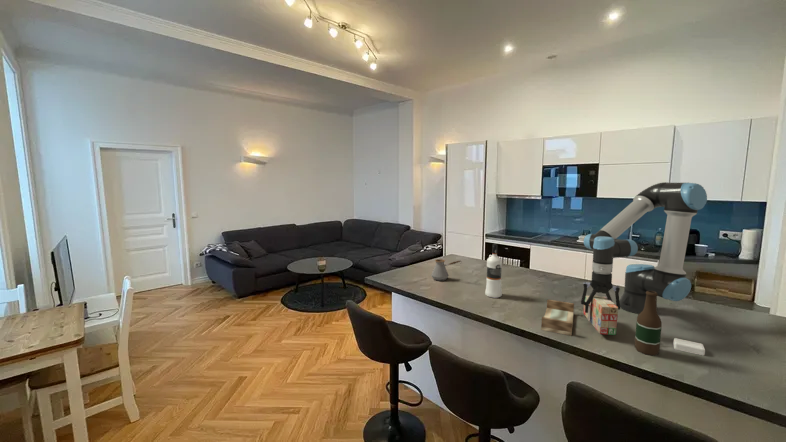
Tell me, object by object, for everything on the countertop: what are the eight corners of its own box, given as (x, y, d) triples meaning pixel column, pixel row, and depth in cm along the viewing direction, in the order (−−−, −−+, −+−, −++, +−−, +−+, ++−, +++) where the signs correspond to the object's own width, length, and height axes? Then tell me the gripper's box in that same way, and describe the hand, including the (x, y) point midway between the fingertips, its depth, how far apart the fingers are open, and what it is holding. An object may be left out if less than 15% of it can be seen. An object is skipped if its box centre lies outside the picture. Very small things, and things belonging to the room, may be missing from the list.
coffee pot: (428, 279, 225) (428, 257, 223) (436, 275, 234) (436, 254, 232) (456, 285, 212) (457, 262, 210) (465, 281, 221) (465, 258, 219)
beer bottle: (648, 345, 136) (653, 288, 133) (664, 355, 128) (670, 295, 125) (629, 346, 135) (634, 288, 132) (644, 356, 128) (650, 295, 125)
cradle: (573, 314, 167) (574, 303, 166) (571, 335, 145) (572, 323, 144) (546, 309, 173) (547, 299, 172) (541, 329, 150) (541, 318, 150)
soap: (674, 349, 133) (674, 342, 132) (672, 344, 137) (673, 337, 137) (704, 356, 128) (705, 349, 127) (702, 350, 132) (703, 343, 132)
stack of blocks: (582, 313, 162) (584, 289, 160) (597, 314, 161) (598, 289, 159) (599, 334, 141) (601, 306, 140) (616, 335, 140) (618, 307, 138)
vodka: (497, 292, 199) (499, 242, 195) (504, 297, 190) (506, 245, 186) (482, 293, 198) (483, 243, 194) (489, 298, 189) (490, 246, 185)
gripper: (575, 271, 149) (573, 320, 152) (631, 277, 139) (627, 329, 142) (575, 267, 156) (573, 314, 159) (629, 272, 146) (625, 322, 149)
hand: (599, 321), depth 150 cm, fingers closed on stack of blocks, 7 cm apart
